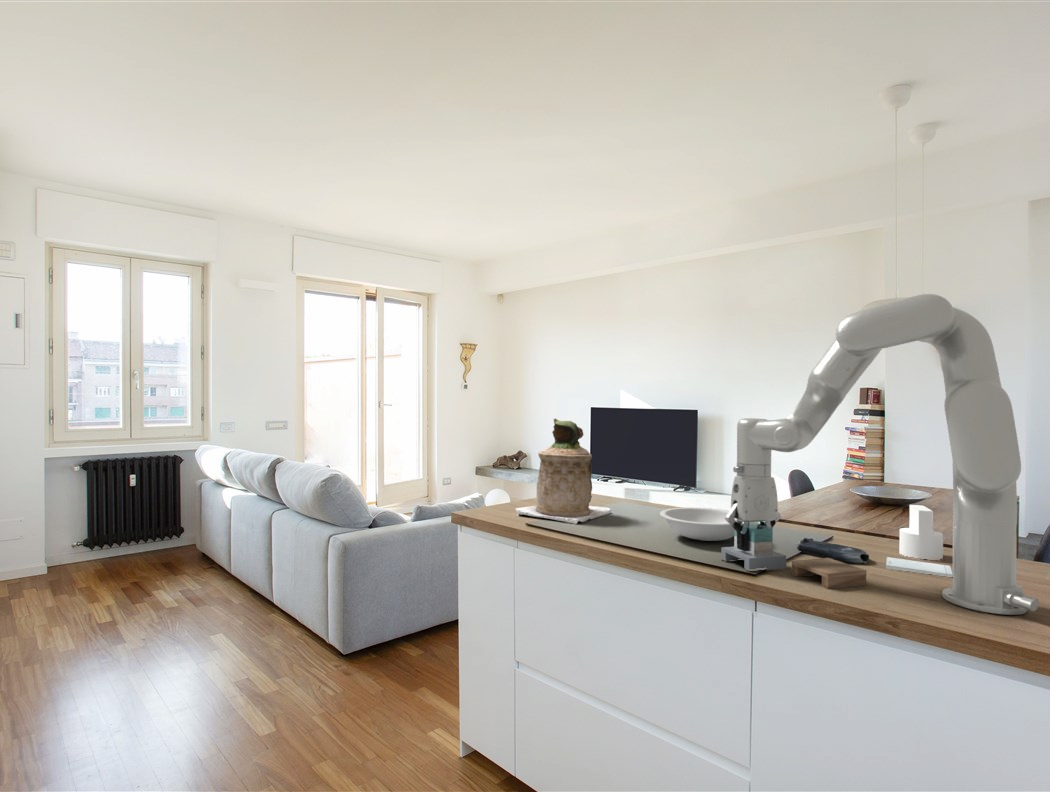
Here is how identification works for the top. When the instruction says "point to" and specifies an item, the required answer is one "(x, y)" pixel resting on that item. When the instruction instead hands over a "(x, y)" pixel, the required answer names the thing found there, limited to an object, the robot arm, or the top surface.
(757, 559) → the stand
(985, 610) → the robot arm
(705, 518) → the soup bowl
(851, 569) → the stand
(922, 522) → the cylinder with rectangular tab
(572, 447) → the cookie jar
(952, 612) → the top surface
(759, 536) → the block
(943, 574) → the hard drive
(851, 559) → the electronic device
